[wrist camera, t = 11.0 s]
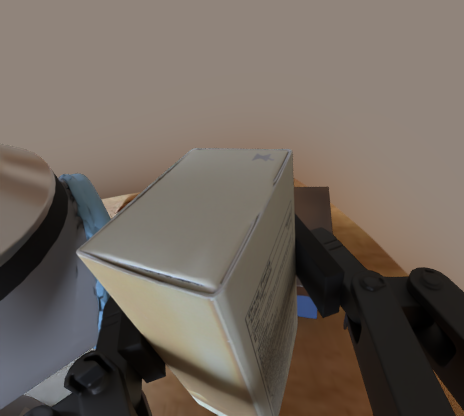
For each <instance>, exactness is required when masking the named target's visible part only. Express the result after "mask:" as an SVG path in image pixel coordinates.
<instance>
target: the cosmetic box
mask: <svg viewBox="0 0 464 416" xmlns="http://www.w3.org/2000/svg"><path fill="white" fill-rule="evenodd" d="M76 253H77V255H78V256H79V257H80V259H81V260H82V261H83V262H84V264H85V265H86V266H87V267H88V269H89V270H90V271H91V272H92V273H93V275H94V276H95V277H96V278H97V279H98V281H99V282H100V283H101V284H102V286H103V287H104V288H105V289H106V291H107V292H108V293H109V294H110V295H111V297H112V298H113V299H114V300H115V301H116V303H117V304H118V305H119V307H120V308H121V309H122V310H123V312H124V313H125V314H126V315H127V317H128V318H129V319H130V320H131V322H132V323H133V324H134V325H135V327H136V328H137V329H138V330H139V331H140V333H141V334H142V335H143V336H144V338H145V339H146V340H147V341H148V342H149V344H150V345H151V346H152V347H153V349H154V350H155V351H156V352H157V353H158V355H159V356H160V357H161V359H162V360H163V361H164V362H165V364H166V365H167V366H168V367H169V368H170V370H171V371H172V372H173V373H174V374H175V376H176V377H177V378H178V379H179V381H180V382H181V383H182V384H183V385H184V387H185V388H186V389H187V390H188V392H189V393H190V394H191V395H192V397H193V398H194V399H195V400H196V402H197V403H198V404H200V405H202V406H203V407H205V408H207V409H208V410H210V411H212V412H213V413H215V414H217V415H219V416H279V412H280V408H281V403H282V399H283V395H284V391H285V386H286V382H287V377H288V372H289V367H290V363H291V358H292V353H293V348H294V342H295V337H296V332H297V325H298V319H297V288H296V254H295V215H294V182H293V154H292V150H290V149H271V150H269V149H219V148H215V149H214V148H212V149H211V148H209V149H206V148H205V149H199V148H195V149H192V150H190V151H189V152H188V153H187V154H186V155H184V156H183V157H182V158H181V159H179V160H178V161H177V162H176V163H175V164H174V165H173V166H171V167H170V168H169V169H168V170H166V171H165V172H164V173H163V174H162V175H161V176H159V177H158V178H157V179H156V180H155V181H154V182H153V183H152V184H150V185H149V186H148V187H147V188H146V189H145V190H144V191H143V192H141V193H140V194H139V195H138V196H137V197H136V198H134V199H133V200H132V201H131V202H130V203H129V204H128V205H127V206H126V207H124V208H123V209H122V210H121V211H120V212H119V213H118V214H116V215H115V216H114V217H113V218H112V219H111V220H110V221H109V222H108V223H107V224H106V225H104V226H103V227H102V228H101V229H100V230H99V231H98V232H97V233H95V234H94V235H93V236H92V237H91V238H90V239H89V240H88V241H87V242H85V243H84V244H83V245H82V246H81V247H80V248H79V249H78V250H77V251H76Z"/></svg>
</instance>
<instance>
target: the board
mask: <svg viewBox="0 0 464 416" xmlns="http://www.w3.org/2000/svg"><path fill="white" fill-rule="evenodd" d="M294 213H295V214H296V215H297V216H298V217H299V218H300V220H301V221H302V222H303V223H304V224H305V225H306V227H307V228H308V229H309V230H313V229H316V228H320V227H322V228H324V229H326V230H328V231H330V232H331V233H332V234H333V231H332V220H331V208H330V197H329V187H294ZM296 288H297V295H299V296H307V297H310V296H309V295H308V293H307V292H306V290H305V288H304V287H303V285H302V284H301V282H300V280H299V279H298V277H297V276H296Z"/></svg>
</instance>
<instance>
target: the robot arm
mask: <svg viewBox="0 0 464 416" xmlns="http://www.w3.org/2000/svg"><path fill="white" fill-rule="evenodd" d="M294 215H295V254H296V276H297V277H298V279H299V280H300V282H301V284H302V285H303V287H304V288H305V290H306V292H307V293H308V295H309V296H310V298H311V300H312V301H313V303H314V304H315V306H316V308H317V309H318V311H319V312H320V314H321V316H322V317H323V318H324V317H327V316H330V315H332V314H335V313H338V312H339V307H340V305H341V307H342V308H343V310H344V311H345V312H346V313H345V319H344V329H347V326H348V330H349V333H350V337H351V340H352V343H353V347H354V350H355V354H356V357H357V360H358V364H359V367H360V371H361V374H362V377H363V381H364V384H365V388H366V391H367V394H368V398H369V401H370V405H371V408H372V411H373V415H374V416H456V415H455V413H454V411H453V409H452V407H451V405H450V403H449V401H448V399H447V397H446V395H445V393H444V391H443V389H442V387H441V385H440V383H439V381H438V379H437V377H436V375H435V373H436V374H437V376H438V377H439V378H440V380H441V381H442V382H443V384H444V385H445V386H446V388H447V389H448V390H449V392H450V393H451V394H452V396H453V397H454V398H455V400H456V401H457V402H458V404H459V405H460V406H461V408H462V409H463V410H464V292H463V291H462V290H461V289H460V288H459V287H458V286H457V285H455V284H454V283H453V282H452V281H451V280H450V279H449V278H448V277H446V276H445V275H443V274H442V273H441V272H439V271H436V270H434V269H430V268H416V269H414V270H412V271H411V273H410V275H409V277H383V276H382V275H380V274H379V273H376V272H374V271H370V270H367V269H366V268H365V267H364V266H363V265H362V264H361V263H360V262H359V261H358V260H357V259H356V258H355V257H354V256H353V255H352V254H351V253H350V252H349V251H348V250H347V249H346V247H345V246H343V244H342V243H341V242H340V241H339V240H337V238H336V237H335V236H334V235H333V234H332V233H331V232H330V231H328V230H326V229H324V228H322V227H320V228H316V229H313V230H309V229H308V228H307V227H306V225H305V224H304V223H303V222H302V221H301V220H300V218H299V217H298V216H297V215H296V214H295V213H294ZM110 220H111V218H110V216H109V214H108V212H107V210H106V208H105V206H104V204H103V202H102V200H101V199H100V197H99V195H98V193H97V192H96V190H95V188H94V186H93V185H92V183H91V182H90V180H89V179H88V178H87V177H86V176H85V175H83V174H72V175H69V174H66V175H65V174H63V175H61V176H60V177H59V178H57V176H56V175H55V174H54V172H53V171H52V169H51V168H50V167H49V166H48V164H47V163H46V162H45V161H44V160H43V159H42V158H41V157H39V156H38V155H37V154H35V153H33V152H31V151H28V150H25V149H22V148H18V147H14V146H9V145H4V144H0V416H152V413H151V410H150V407H149V404H148V401H147V399H146V396H145V394H144V392H143V391H142V378H143V379H144V381H145V382H146V383H149V382H151V381H154V380H157V379H159V378H162V377H165V376H166V370H165V362H164V361H163V360H162V359H161V357H160V356H159V355H158V353H157V352H156V351H155V350H154V349H153V347H152V346H151V345H150V344H149V342H148V341H147V340H146V339H145V338H144V336H143V335H142V334H141V333H140V331H139V330H138V329H137V328H136V327H135V325H134V324H133V323H132V322H131V320H130V319H129V318H128V317H127V315H126V314H125V313H124V312H123V310H122V309H121V308H120V307H119V305H118V304H117V303H116V301H115V300H114V299H113V298H112V297H111V295H110V294H109V293H108V292H107V291H106V289H105V288H104V287H103V286H102V284H101V283H100V282H99V281H98V279H97V278H96V277H95V276H94V275H93V273H92V272H91V271H90V270H89V269H88V267H87V266H86V265H85V264H84V262H83V261H82V260H81V259H80V257H79V256H78V255H77V253H76V251H77V250H78V249H79V248H80V247H81V246H82V245H83V244H84V243H85V242H87V241H88V240H89V239H90V238H91V237H92V236H93V235H94V234H95V233H97V232H98V231H99V230H100V229H101V228H102V227H103V226H104V225H106V224H107V223H108V222H109V221H110ZM91 348H94V349H96V350H94V351H90V352H88V353H86V354H84V353H85V352H87V351H88V350H90V349H91ZM82 354H84V355H82ZM81 355H82V356H81ZM79 356H81V357H80V358H79V359H77V360H76V361H75V362H74V364H73V365H72V366H71V368H70V369H69V371H68V373H67V375H66V377H65V382H64V387H65V388H66V389H68V390H69V391H71V392H72V393H71V394H70V395H68V396H67V397H66V398H64V399H63V400H61V401H60V402H58V403H57V404H56V405H54V406H53V407H49V406H46V405H45V404H43V403H42V402H40V401H38V400H36V399H34V398H32V397H30V396H26V395H23V394H24V393H26V392H27V391H29V390H30V389H32V388H33V387H35V386H36V385H38V384H39V383H41V382H42V381H44V380H45V379H47V378H48V377H50V376H51V375H53V374H54V373H56V372H57V371H59V370H60V369H61V368H63V367H64V366H66V365H67V364H69V363H70V362H72V361H73V360H75V359H76V358H78V357H79ZM431 367H432V368H431ZM433 370H434V371H433ZM434 372H435V373H434Z"/></svg>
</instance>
